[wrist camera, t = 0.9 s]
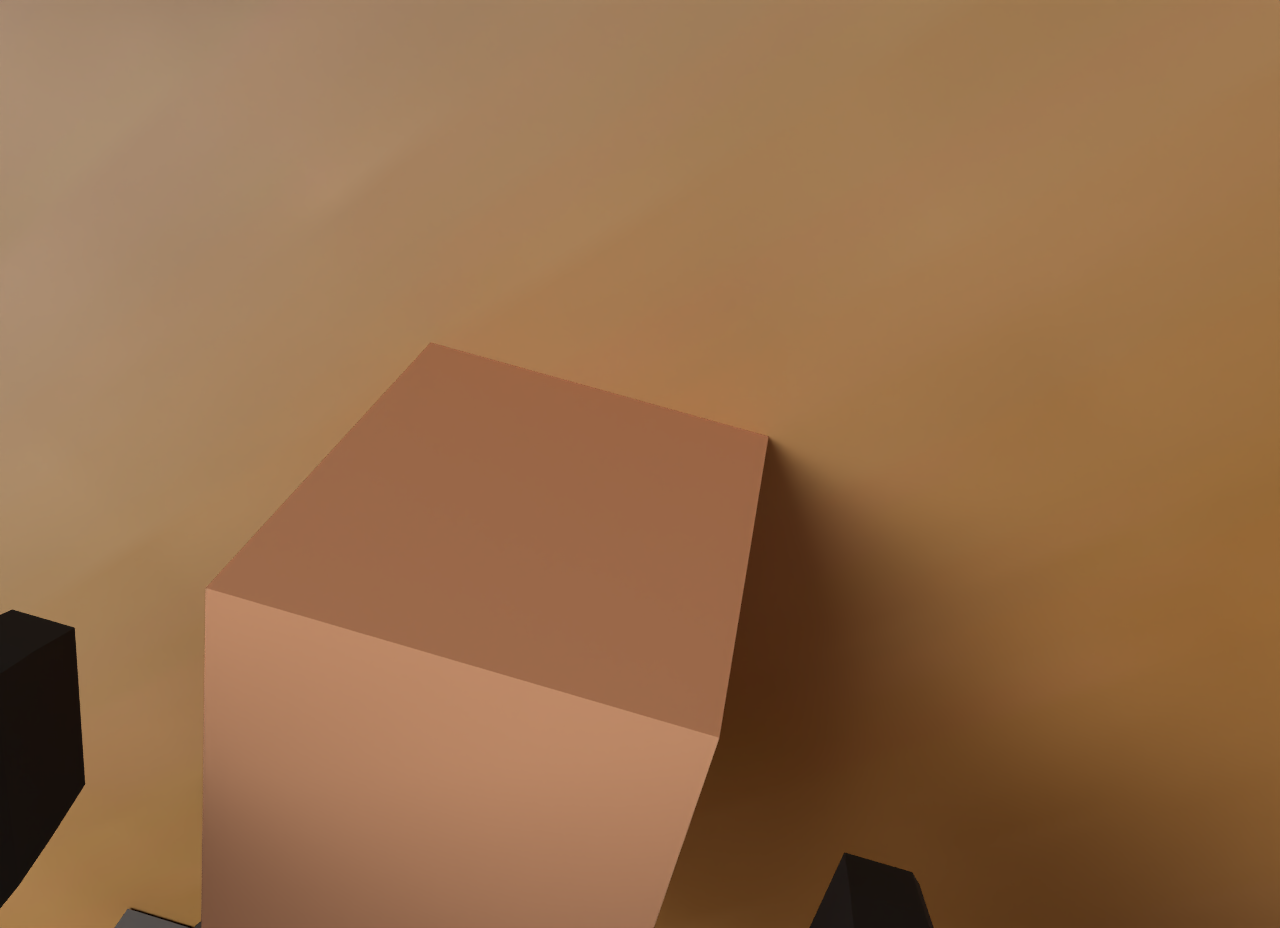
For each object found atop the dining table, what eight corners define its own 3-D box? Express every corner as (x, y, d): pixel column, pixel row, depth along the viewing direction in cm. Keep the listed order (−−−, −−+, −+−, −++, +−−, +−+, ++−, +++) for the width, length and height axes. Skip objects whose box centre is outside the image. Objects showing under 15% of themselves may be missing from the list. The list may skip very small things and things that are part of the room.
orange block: (768, 433, 12) (720, 738, 8) (670, 747, 15) (592, 1108, 10) (433, 340, 12) (206, 587, 8) (390, 666, 15) (201, 986, 11)
